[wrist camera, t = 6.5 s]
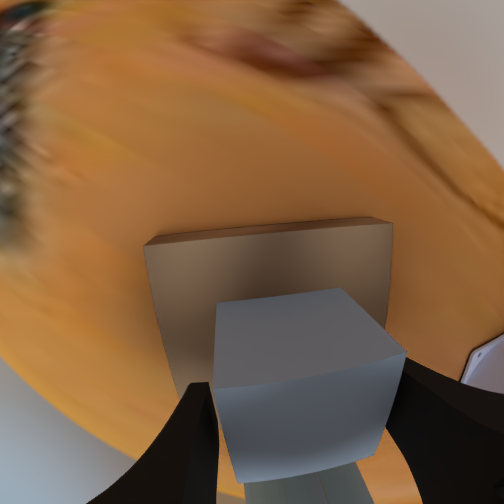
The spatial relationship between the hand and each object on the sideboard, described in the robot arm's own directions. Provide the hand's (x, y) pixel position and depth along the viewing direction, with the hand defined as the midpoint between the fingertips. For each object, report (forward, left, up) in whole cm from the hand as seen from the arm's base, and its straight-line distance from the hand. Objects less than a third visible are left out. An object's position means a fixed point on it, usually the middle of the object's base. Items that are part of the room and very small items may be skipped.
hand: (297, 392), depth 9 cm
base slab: (0, 0, -5) cm, 5 cm away
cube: (0, 0, -3) cm, 3 cm away
